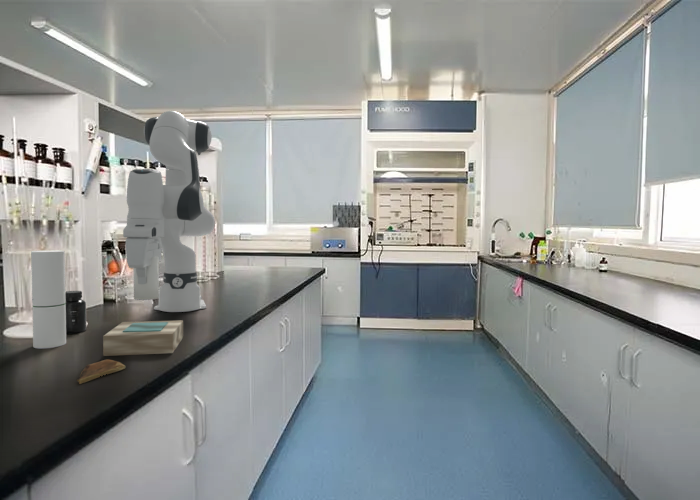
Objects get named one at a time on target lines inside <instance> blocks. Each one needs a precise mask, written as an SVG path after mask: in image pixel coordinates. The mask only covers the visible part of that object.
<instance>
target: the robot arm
mask: <svg viewBox="0 0 700 500" xmlns="http://www.w3.org/2000/svg"><path fill="white" fill-rule="evenodd" d="M143 135H144V139H145V142H146V143H147V144H148V145H149V150H150V153H151V154H152V156H153V158H154V159H155V160H156V161H158V162H159V163H161V164H162V165H164V166H165V181H164V182H165V183H164V182H163V175H162V171H159V170H158V169H153V168H152V169H151V168H150V169H149V168H136V169H132V170H130V171H129V174H128V177H127V183H126V184H127V186H126V204H127V206H128V207H127V208H128V212H127V215H126V225H125V227H124V228H123V229H122V236H123V238H126V239H125V255H126V264H127V266H128V268H129V269H134V268H136V273H137V276H138V284H146V283H147V277H146V267H147V266H150V265H151V258H152V257H159V263H160V262H161V261H162V253H163V259H164V272H163V276H162V278H163V284H162V285H160V286H159V298H158V304H157V305H154V307H153V310H155V311H162V312H167V313H182V312H183V313H185V312H192V311H197V310H202V309H203V310H204V309H207V305H206V303H205V300H204V299H203V296H202V295H201V287H200V285H198V282H197V281H198V272H197V271H196V270H197V268H196V265H197V263H196V261H197V260H196V259H197V255H196V252H195V251H194V250H193V248H191V247H189V246H188V245H185V244H183V243H182V241H181V237H203V236H207V235H210V234H211V233H212V232H213V231H214V230H215V229H214V228H215V225H216V223H215V222H216V220H215V217H214V215H213V213H212V212H211V211H210V210H209V209H207V208H206V206H205V205H204V197H203V194H202V190H201V182H200V181H201V180H200V179H201V178H200V169H199V163H198V158H197V155H198V156H200V155H201V153H204V152H206V151H207V150H208V149H209V147H210V145H211V143H212V139H213V137H212V132H211V129H210V126H209V125H208V124H207V123H205V122H203V121H199V120H197V121H196V120H191V119H187V118H186V117H185V116H184V115H183V114H181V113H180V112H177V111H174V110H167V111H164V112H162V114H160V116H154V117H153V116H152V117H150V118H148V119H147V120H146V121H145V124H144V127H143ZM153 251H154V256H153Z"/></svg>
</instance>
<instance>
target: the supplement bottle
mask: <svg viewBox="0 0 700 500" xmlns="http://www.w3.org/2000/svg"><path fill="white" fill-rule="evenodd" d="M82 298H83V291H82V290H67V291H66V290H65V299H66V335H74V334H80V333H83V332H85V331H86V330H87V302H86V300H84V299H82Z"/></svg>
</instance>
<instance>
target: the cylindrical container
mask: <svg viewBox="0 0 700 500" xmlns="http://www.w3.org/2000/svg"><path fill="white" fill-rule="evenodd" d="M65 256H66V253H65V250H61V249H60V250H59V249H56V250H55V249H52V250H32V251H30V260H31V303H32V304H31V305H32V307H31V309H32V313H31V314H32V345H33V346H32V347H33V348H35V349H42V350H43V349H53V348H57V347H61V346H64V345H66V344H67V334H66V299H65V292H66V259H65V258H66V257H65Z"/></svg>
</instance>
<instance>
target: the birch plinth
mask: <svg viewBox="0 0 700 500" xmlns="http://www.w3.org/2000/svg"><path fill="white" fill-rule="evenodd" d="M183 338H184V320H183V319H182V320H152V321H151V320H149V321H148V320H147V321H142V320H141V321H122V322H121V323H119V324H118V325H117V326H115V327H113V328H112V329H110V331H108V332H107V333H105V334H104V335H103V336H102V340H103V341H102V344H103V347H102V349H103V351H102V352H103V357H109V356H111V357H112V356H131V355H133V356H135V355H154V354H155V355H159V354H161V355H162V354H174V352H175V350H176V349H177V348H178V346H179V344H180V343H181V341H182V340H183Z"/></svg>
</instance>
